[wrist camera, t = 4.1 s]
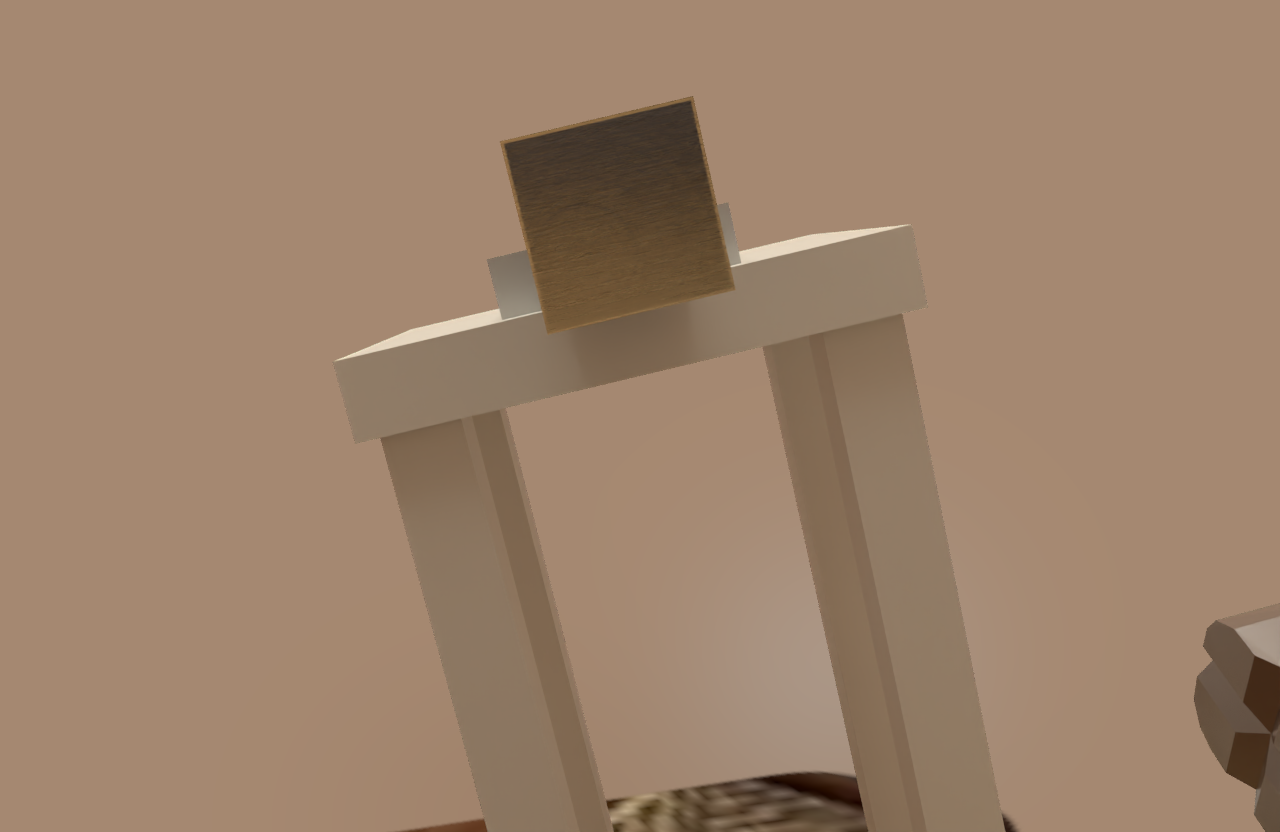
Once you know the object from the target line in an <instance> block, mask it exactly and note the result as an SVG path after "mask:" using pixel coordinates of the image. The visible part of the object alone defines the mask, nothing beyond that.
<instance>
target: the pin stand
mask: <svg viewBox="0 0 1280 832" xmlns="http://www.w3.org/2000/svg"><path fill="white" fill-rule="evenodd" d="M717 207H718V212H719V217H720V221H721V226H722V230H723V235H724V239H725V244H726V248H727V253H728V257H729V262H730V267H731V271H732V276H733V280H734V285H735V289H736V290H734V291H730V292H726V293H721V294H717V295H713V296H709V297H705V298H700V299H696V300H692V301H688V302H684V303H679V304H675V305H671V306H667V307H662V308H658V309H654V310H650V311H646V312H641V313H637V314H633V315H629V316H625V317H620V318H616V319H612V320H608V321H604V322H599V323H595V324H591V325H587V326H583V327H578V328H574V329H570V330H566V331H562V332H557V333H553V334H549V335H548V334H547V330H546V326H545V322H544V318H543V314H542V310H541V306H540V302H539V298H538V293H537V289H536V285H535V281H534V277H533V273H532V269H531V265H530V261H529V257H528V253H527V250H525V251H521V252H517V253H512V254H508V255H504V256H500V257H495V258H492V259H487V262H488V266H489V269H490V273H491V278H492V282H493V286H494V289H495V294H496V298H497V302H498V306H499V309H496V310H491V311H487V312H483V313H479V314H474V315H471V316H466V317H462V318H458V319H453V320H449V321H445V322H441V323H436V324H432V325H428V326H424V327H420V328H415V329H411V330H409V331H406V332H404V333H401V334H399V335H397V336H394V337H392V338H389V339H387V340H385V341H382V342H380V343H377V344H375V345H372V346H370V347H368V348H365V349H363V350H360V351H358V352H355V353H353V354H351V355H348V356H346V357H343V358H341V359H338V360H336V361H334V362H333V365H334V369H335V372H336V376H337V379H338V383H339V387H340V390H341V394H342V397H343V401H344V404H345V408H346V411H347V416H348V419H349V422H350V426H351V430H352V434H353V437H354V441H355V443H360V442H365V441H369V440H373V439H377V438H381V442H382V446H383V449H384V453H385V457H386V460H387V464H388V468H389V471H390V475H391V479H392V482H393V486H394V490H395V493H396V497H397V501H398V504H399V508H400V512H401V515H402V519H403V523H404V526H405V530H406V534H407V537H408V541H409V545H410V548H411V552H412V556H413V559H414V563H415V567H416V570H417V574H418V578H419V581H420V585H421V589H422V592H423V596H424V600H425V603H426V607H427V611H428V614H429V618H430V621H431V625H432V629H433V633H434V636H435V640H436V644H437V647H438V651H439V655H440V658H441V662H442V666H443V669H444V673H445V677H446V680H447V684H448V688H449V691H450V695H451V699H452V702H453V706H454V709H455V713H456V717H457V720H458V724H459V728H460V731H461V735H462V739H463V743H464V746H465V750H466V753H467V757H468V761H469V765H470V768H471V772H472V776H473V779H474V783H475V787H476V790H477V794H478V798H479V801H480V805H481V809H482V812H483V816H484V820H485V823H486V827H487V831H488V832H614V831H613V827H612V823H611V819H610V816H609V812H608V808H607V804H606V800H605V796H604V792H603V788H602V784H601V780H600V776H599V773H598V769H597V765H596V761H595V757H594V753H593V749H592V745H591V741H590V737H589V733H588V729H587V725H586V721H585V717H584V713H583V710H582V706H581V702H580V698H579V694H578V690H577V686H576V682H575V678H574V674H573V670H572V667H571V663H570V659H569V655H568V651H567V647H566V643H565V639H564V635H563V631H562V627H561V623H560V620H559V615H558V612H557V607H556V604H555V600H554V596H553V592H552V588H551V584H550V580H549V576H548V572H547V568H546V565H545V560H544V557H543V553H542V549H541V545H540V541H539V537H538V533H537V529H536V525H535V521H534V517H533V513H532V509H531V505H530V501H529V498H528V494H527V490H526V486H525V482H524V478H523V474H522V470H521V467H520V462H519V458H518V454H517V450H516V447H515V443H514V439H513V435H512V431H511V427H510V423H509V419H508V416H507V411H506V408H507V407H511V406H515V405H520V404H524V403H528V402H532V401H537V400H541V399H545V398H549V397H553V396H558V395H562V394H566V393H570V392H574V391H579V390H583V389H587V388H591V387H595V386H599V385H604V384H608V383H612V382H616V381H620V380H625V379H629V378H633V377H637V376H641V375H646V374H650V373H654V372H658V371H662V370H666V369H671V368H675V367H679V366H683V365H687V364H691V363H696V362H700V361H704V360H709V359H713V358H717V357H721V356H725V355H729V354H734V353H738V352H742V351H746V350H751V349H755V348H759V347H763V351H764V356H765V360H766V364H767V369H768V374H769V378H770V383H771V387H772V392H773V397H774V401H775V406H776V411H777V415H778V420H779V424H780V429H781V433H782V438H783V443H784V447H785V452H786V456H787V461H788V466H789V470H790V475H791V479H792V484H793V488H794V493H795V498H796V502H797V506H798V511H799V516H800V521H801V525H802V529H803V534H804V539H805V544H806V548H807V553H808V557H809V562H810V566H811V571H812V575H813V580H814V585H815V589H816V594H817V599H818V603H819V608H820V612H821V616H822V622H823V626H824V631H825V635H826V640H827V644H828V649H829V653H830V658H831V663H832V667H833V672H834V676H835V681H836V686H837V690H838V695H839V699H840V704H841V709H842V713H843V718H844V722H845V727H846V732H847V736H848V741H849V745H850V750H851V755H852V759H853V763H854V768H855V773H856V777H857V782H858V787H859V791H860V796H861V800H862V805H863V810H864V814H865V819H866V823H867V828H868V832H1005V829H1004V824H1003V819H1002V814H1001V809H1000V804H999V799H998V794H997V789H996V784H995V779H994V773H993V768H992V763H991V758H990V753H989V748H988V743H987V739H986V733H985V728H984V723H983V718H982V713H981V708H980V703H979V698H978V693H977V688H976V683H975V678H974V673H973V668H972V663H971V658H970V652H969V648H968V643H967V637H966V632H965V627H964V622H963V617H962V612H961V607H960V602H959V598H958V592H957V587H956V582H955V577H954V572H953V567H952V562H951V557H950V552H949V547H948V542H947V537H946V532H945V526H944V521H943V516H942V511H941V506H940V501H939V496H938V491H937V486H936V481H935V477H934V471H933V466H932V461H931V456H930V451H929V446H928V441H927V436H926V431H925V426H924V421H923V416H922V410H921V406H920V400H919V395H918V390H917V385H916V380H915V376H914V370H913V365H912V360H911V356H910V350H909V345H908V340H907V335H906V330H905V325H904V320H903V315H902V313H906V312H910V311H914V310H918V309H922V308H927V307H928V305H927V300H926V295H925V290H924V285H923V280H922V274H921V270H920V264H919V259H918V255H917V249H916V244H915V238H914V233H913V228H912V225H901V226H892V227H882V228H872V229H862V230H852V231H843V232H834V233H823V234H814V235H808V236H804V237H799V238H795V239H791V240H786V241H782V242H778V243H774V244H770V245H765V246H761V247H757V248H753V249H748V250H744V251H740V252H739V250H738V246H737V241H736V236H735V232H734V228H733V223H732V218H731V213H730V209H729V204H728V203H724V204H720V205H717Z"/></svg>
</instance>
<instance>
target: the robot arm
mask: <svg viewBox="0 0 1280 832" xmlns="http://www.w3.org/2000/svg"><path fill="white" fill-rule="evenodd" d="M1203 647H1204V648H1205V650H1206V651H1207V653H1208V654H1209V655H1210V657H1211V658H1212V659H1213V661H1212V662H1211V663H1210V664H1209V665H1208V666H1207V667H1206V668H1205V669H1204V670H1203V671H1202V672H1201V673H1200V674H1199V675H1198V676H1197V680H1196V688H1195V695H1194V702H1195V706H1196V711H1197V715H1198V720H1199V724H1200V727H1201V730H1202V732H1203V734H1204V736H1205V738H1206V740H1207V742H1208V744H1209V746H1210V748H1211V750H1212V752H1213V753H1214V755H1215V757H1216V758H1217V760H1218V761H1219V763H1220V764H1221V766H1222V767H1223V769H1224V770H1225V772H1226V773H1228V774H1229V775H1231V776H1233V777H1235V778H1237V779H1238V780H1240V781H1242V782H1244V783H1246V784H1247V785H1249V786H1251V787H1253V788H1254V789H1256V798H1255V811H1254V815H1255V817H1256V818H1257V820H1258V821H1259V823H1260V824H1261V826H1262V827H1263V829H1264V830H1265V832H1280V603H1279V604H1275V605H1271V606H1268V607H1264V608H1260V609H1257V610H1253V611H1249V612H1245V613H1242V614H1238V615H1235V616H1230V617H1227V618H1223V619H1219V620H1216V621H1215V622H1214V623H1213V624H1212V625H1210V626H1209V627H1208V628H1207V631H1206V636H1205V640H1204V645H1203Z"/></svg>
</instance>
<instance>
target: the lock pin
mask: <svg viewBox="0 0 1280 832" xmlns="http://www.w3.org/2000/svg"><path fill="white" fill-rule="evenodd" d="M500 143H501V147H502V151H503V156H504V159H505V163H506V168H507V172H508V175H509V180H510V184H511V188H512V192H513V196H514V200H515V204H516V208H517V212H518V216H519V220H520V225H521V228H522V233H523V237H524V240H525V245H526V249H527V253H528V257H529V261H530V265H531V269H532V273H533V277H534V281H535V285H536V289H537V293H538V298H539V302H540V306H541V310H542V314H543V318H544V322H545V326H546V330H547V334H548V335H549V334H553V333H557V332H562V331H566V330H570V329H574V328H578V327H583V326H587V325H591V324H595V323H599V322H604V321H608V320H612V319H616V318H620V317H625V316H629V315H633V314H637V313H641V312H646V311H650V310H654V309H658V308H662V307H667V306H671V305H675V304H679V303H684V302H688V301H692V300H696V299H700V298H705V297H709V296H713V295H717V294H721V293H726V292H730V291H734V290H736V289H735V285H734V280H733V276H732V271H731V267H730V262H729V257H728V253H727V248H726V244H725V239H724V235H723V230H722V226H721V221H720V217H719V212H718V207H717V203H716V198H715V194H714V189H713V185H712V180H711V176H710V171H709V167H708V163H707V157H706V153H705V149H704V144H703V139H702V135H701V130H700V126H699V121H698V117H697V112H696V108H695V103H694V98H693V96H692V97H687V98H683V99H679V100H675V101H671V102H667V103H662V104H658V105H653V106H649V107H645V108H641V109H636V110H632V111H628V112H624V113H619V114H615V115H611V116H607V117H602V118H598V119H594V120H590V121H586V122H581V123H577V124H573V125H568V126H564V127H560V128H556V129H552V130H548V131H543V132H539V133H534V134H530V135H526V136H521V137H518V138H514V139H509V140H505V141H501V142H500Z"/></svg>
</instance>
